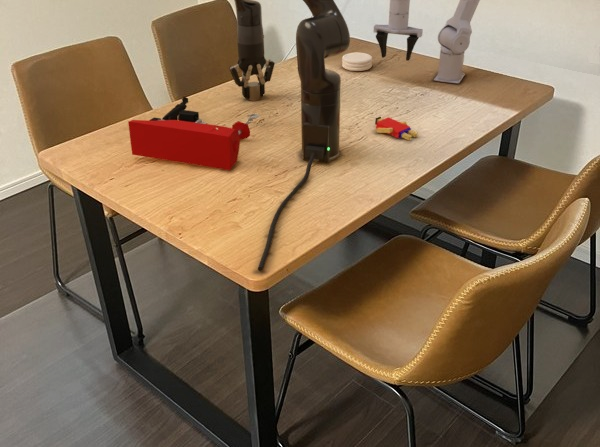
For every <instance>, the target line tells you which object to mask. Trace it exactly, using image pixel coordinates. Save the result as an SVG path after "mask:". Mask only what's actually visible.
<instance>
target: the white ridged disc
mask: <svg viewBox="0 0 600 447" xmlns="http://www.w3.org/2000/svg"><path fill="white" fill-rule="evenodd" d="M341 60H342V61H341V66H342V68H343V69H345V70H347V71H349V72H350V71H351V72H363V71H368V70H370V69H371V68H372V67H373V56H372V55H371V54H369V53H365V52H347V53H344V55H343V56H342V57H341Z"/></svg>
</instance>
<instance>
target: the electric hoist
mask: <svg viewBox="0 0 600 447" xmlns="http://www.w3.org/2000/svg"><path fill="white" fill-rule="evenodd" d="M179 100H180V101H179V102H180V103H177V104H176V105H175V106H174V107H173V108H172V109H171V110H169V111H168V112H167V113H166V114H165V115H164V116H162V118H161V117H155V116H154V117H152V118H151V119H149V120H147V119H146V120H145V119H144V120H142V119H131V120H129V121H128V123H127V125H128V131H129V139H130V147H131V148H130V149H131V155H132V156H139V157H145V158H152V159H157V160H164V161H169V162H176V163H183V164H187V165H193V166H201V167H206V168H212V169H219V170H225V171H231V170H232V169H233V168H234V166H235V165H236V163H238V158H239V152H240V144H241V140H245V139H248V138H249V137H250V136H251V130H250V126H249V124H251V122H253V121H254V120H255V119H258V118H259V117H260V114H257V113H255V112H254V113H250V114H248V115H247V117H249V118H247V121H246V122H242V121H236V122H235V123H233V124H232V125H231V127H228V126H222V125H216V124H209V123H207V122H204V121H203V119H202V118H200V116H199V115H200V113H199V111H194V110H187V108H188V106H187V104H188V103H189V98H188V97H187V96H183V97H182V98H180V99H179Z"/></svg>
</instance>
